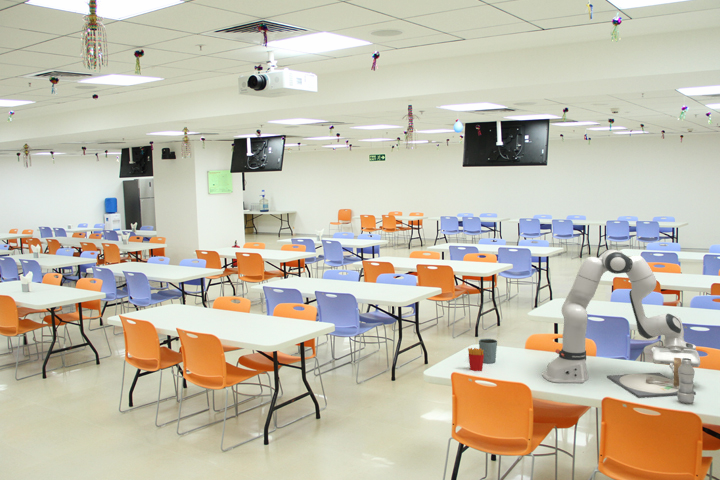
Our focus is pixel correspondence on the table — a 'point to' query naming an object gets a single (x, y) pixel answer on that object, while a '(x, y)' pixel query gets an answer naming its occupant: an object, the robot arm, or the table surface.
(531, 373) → the table surface
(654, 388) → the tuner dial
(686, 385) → the plastic bottle
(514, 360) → the table surface
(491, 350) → the grey bucket
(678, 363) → the needle lever
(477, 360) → the french fries
